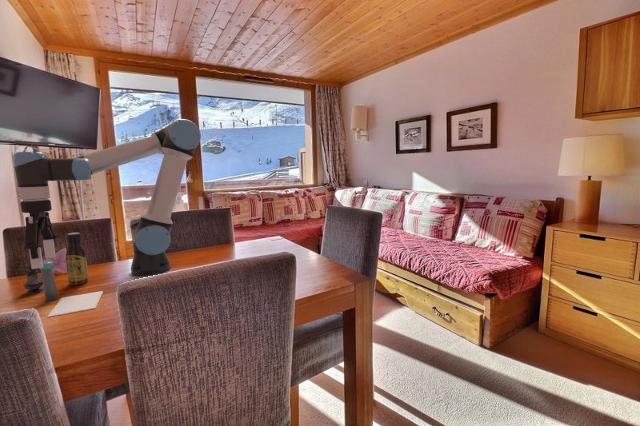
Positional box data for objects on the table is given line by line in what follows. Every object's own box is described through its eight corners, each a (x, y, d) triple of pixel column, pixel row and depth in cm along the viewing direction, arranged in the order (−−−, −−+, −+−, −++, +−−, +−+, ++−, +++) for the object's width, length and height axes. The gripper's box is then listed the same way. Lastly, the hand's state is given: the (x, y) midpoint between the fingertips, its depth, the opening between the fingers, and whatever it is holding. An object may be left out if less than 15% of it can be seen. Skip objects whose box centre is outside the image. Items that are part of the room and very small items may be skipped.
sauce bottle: (65, 286, 122) (57, 235, 119) (76, 280, 128) (68, 232, 125) (83, 285, 123) (75, 234, 120) (93, 279, 129) (86, 231, 126)
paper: (103, 291, 116) (103, 290, 116) (95, 308, 101) (95, 307, 101) (62, 298, 110) (61, 297, 110) (47, 317, 96) (47, 316, 96)
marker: (59, 296, 112) (53, 260, 110) (56, 300, 109) (50, 263, 107) (47, 298, 111) (41, 262, 109) (44, 302, 108) (37, 264, 106)
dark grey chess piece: (21, 295, 114) (16, 263, 112) (27, 290, 119) (22, 259, 118) (43, 292, 117) (37, 260, 115) (47, 287, 122) (42, 256, 120)
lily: (33, 278, 136) (29, 261, 132) (53, 260, 146) (50, 244, 142) (63, 284, 138) (61, 268, 133) (81, 266, 148) (79, 251, 143)
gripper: (34, 197, 114) (42, 255, 117) (3, 204, 92) (14, 275, 95) (60, 196, 118) (67, 252, 121) (37, 202, 95) (46, 271, 98)
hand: (44, 262), depth 108 cm, fingers open, 13 cm apart
